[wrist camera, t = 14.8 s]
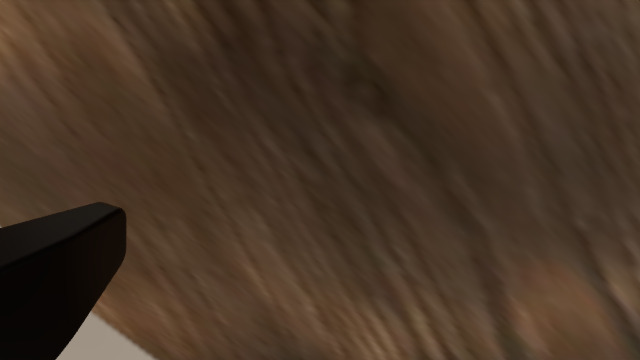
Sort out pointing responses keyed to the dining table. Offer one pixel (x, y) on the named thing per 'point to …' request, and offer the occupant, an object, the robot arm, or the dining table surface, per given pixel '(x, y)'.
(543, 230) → the dining table surface
